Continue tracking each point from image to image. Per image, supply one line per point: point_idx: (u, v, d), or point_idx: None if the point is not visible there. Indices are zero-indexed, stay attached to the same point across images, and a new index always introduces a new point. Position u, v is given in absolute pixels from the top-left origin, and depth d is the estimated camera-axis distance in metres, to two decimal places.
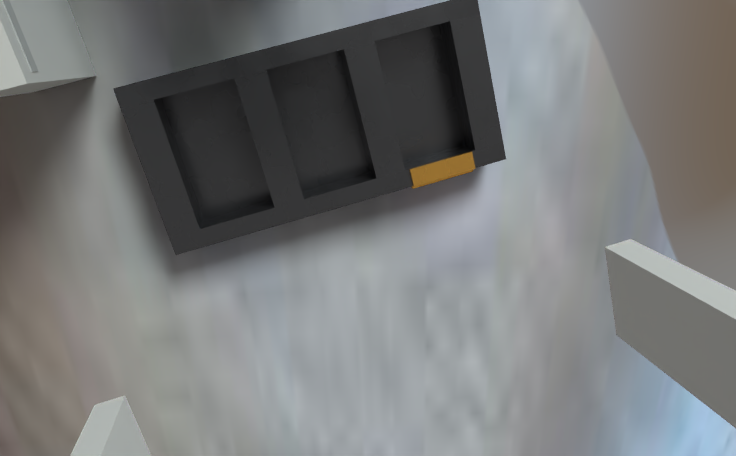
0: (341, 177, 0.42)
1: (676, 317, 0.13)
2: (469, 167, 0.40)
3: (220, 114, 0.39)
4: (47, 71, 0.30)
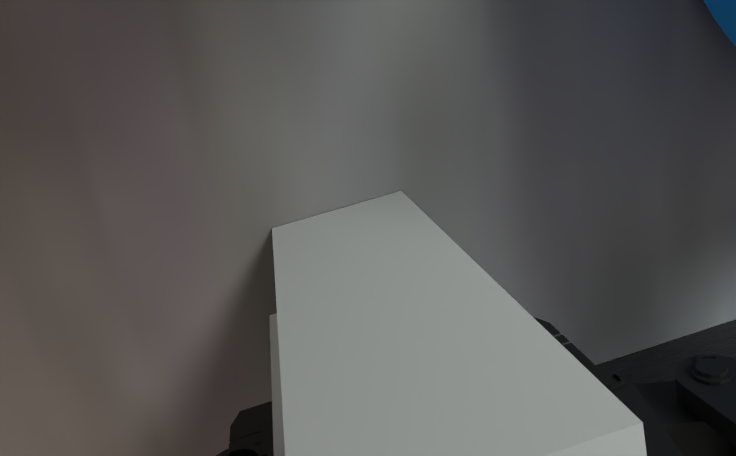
0: None
1: None
2: None
3: None
4: None
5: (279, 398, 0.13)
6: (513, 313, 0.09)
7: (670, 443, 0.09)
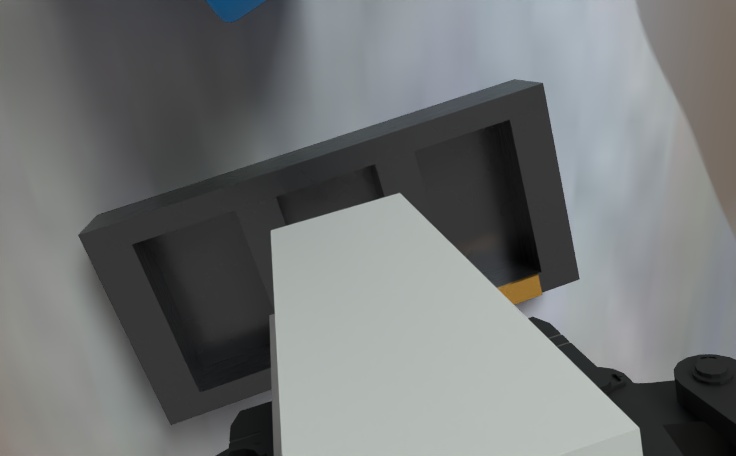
0: None
1: None
2: (535, 293, 0.32)
3: (219, 242, 0.31)
4: None
5: None
6: (511, 317, 0.09)
7: (670, 443, 0.09)
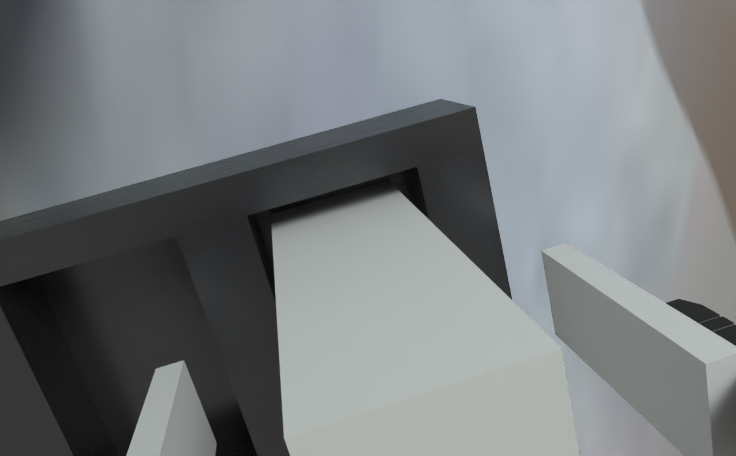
0: None
1: (598, 317, 0.14)
2: None
3: None
4: None
5: None
6: (473, 275, 0.11)
7: None
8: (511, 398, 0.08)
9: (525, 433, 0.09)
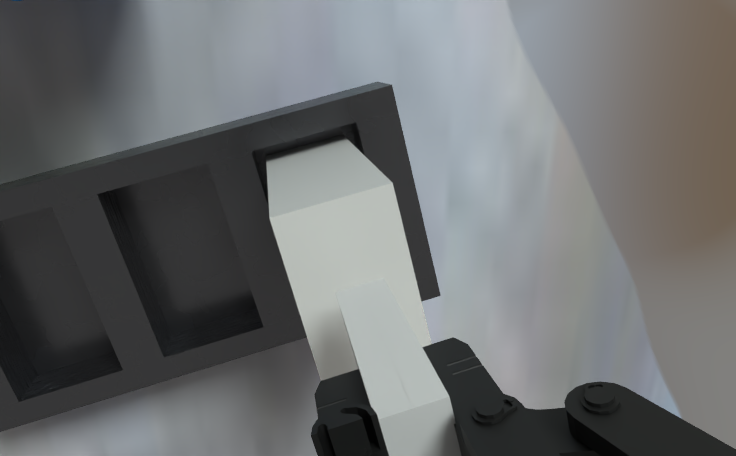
0: (224, 315, 0.32)
1: None
2: None
3: (51, 241, 0.29)
4: None
5: (366, 365, 0.13)
6: (369, 167, 0.22)
7: None
8: (371, 206, 0.19)
9: (378, 223, 0.19)
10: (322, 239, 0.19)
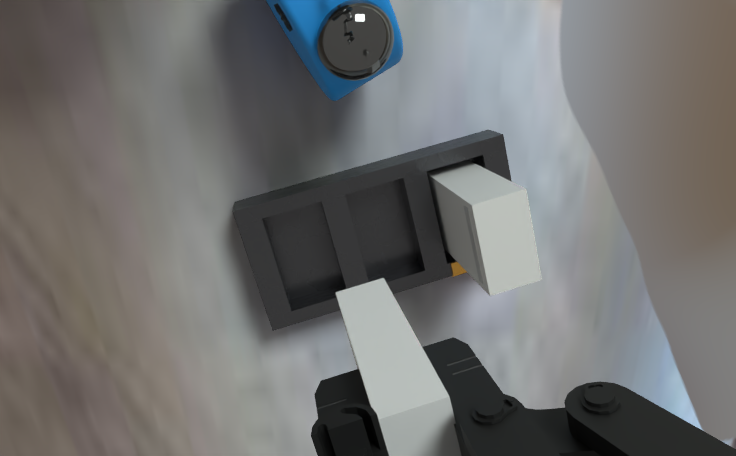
0: (395, 266, 0.54)
1: None
2: None
3: (306, 221, 0.51)
4: None
5: (366, 365, 0.13)
6: (506, 181, 0.44)
7: None
8: (516, 199, 0.41)
9: (519, 207, 0.41)
10: (493, 215, 0.41)
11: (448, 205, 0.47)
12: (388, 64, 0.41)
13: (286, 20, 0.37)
